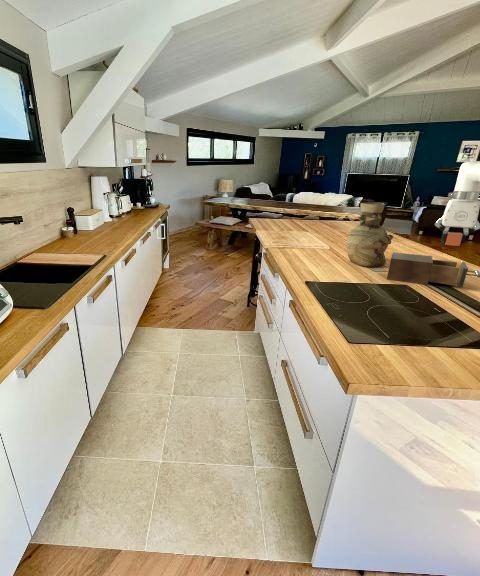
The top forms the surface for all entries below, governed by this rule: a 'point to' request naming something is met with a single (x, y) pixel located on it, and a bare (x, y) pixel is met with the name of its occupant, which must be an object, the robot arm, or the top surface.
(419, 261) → the cabinet
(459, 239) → the block
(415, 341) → the top surface
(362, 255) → the ceramic vessel
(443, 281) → the drawer
